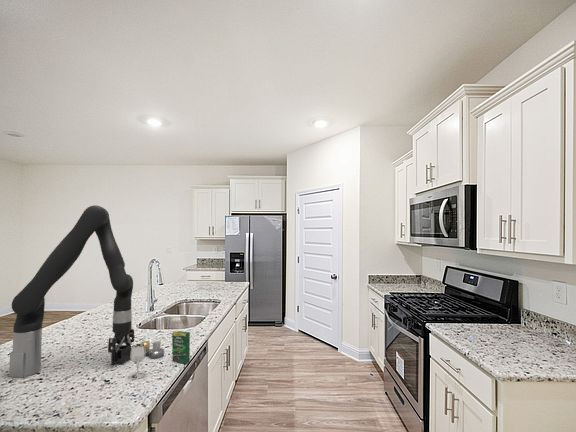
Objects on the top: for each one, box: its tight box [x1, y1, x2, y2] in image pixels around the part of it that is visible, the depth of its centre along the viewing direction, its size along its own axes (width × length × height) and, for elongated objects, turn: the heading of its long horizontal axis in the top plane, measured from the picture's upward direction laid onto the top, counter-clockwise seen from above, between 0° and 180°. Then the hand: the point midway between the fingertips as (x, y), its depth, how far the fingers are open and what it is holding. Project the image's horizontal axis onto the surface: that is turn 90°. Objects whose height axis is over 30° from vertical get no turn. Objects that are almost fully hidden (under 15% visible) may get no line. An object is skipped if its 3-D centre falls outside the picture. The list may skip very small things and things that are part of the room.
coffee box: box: [171, 330, 191, 365], centre depth 145 cm, size 8×3×13 cm, turn 66°
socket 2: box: [140, 340, 151, 350], centre depth 158 cm, size 4×4×4 cm
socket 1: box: [110, 344, 132, 365], centre depth 145 cm, size 6×6×6 cm
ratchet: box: [145, 340, 165, 360], centre depth 152 cm, size 6×18×6 cm, turn 81°
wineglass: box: [130, 343, 146, 380], centre depth 131 cm, size 6×6×12 cm
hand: (121, 357), depth 145 cm, fingers open, 8 cm apart
